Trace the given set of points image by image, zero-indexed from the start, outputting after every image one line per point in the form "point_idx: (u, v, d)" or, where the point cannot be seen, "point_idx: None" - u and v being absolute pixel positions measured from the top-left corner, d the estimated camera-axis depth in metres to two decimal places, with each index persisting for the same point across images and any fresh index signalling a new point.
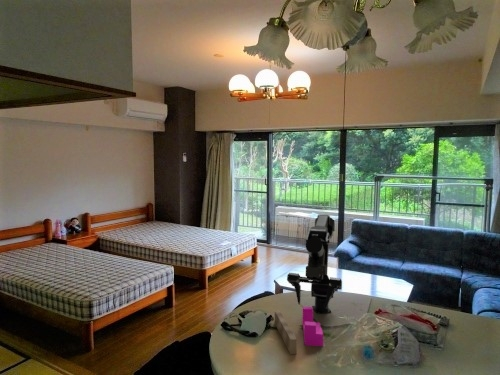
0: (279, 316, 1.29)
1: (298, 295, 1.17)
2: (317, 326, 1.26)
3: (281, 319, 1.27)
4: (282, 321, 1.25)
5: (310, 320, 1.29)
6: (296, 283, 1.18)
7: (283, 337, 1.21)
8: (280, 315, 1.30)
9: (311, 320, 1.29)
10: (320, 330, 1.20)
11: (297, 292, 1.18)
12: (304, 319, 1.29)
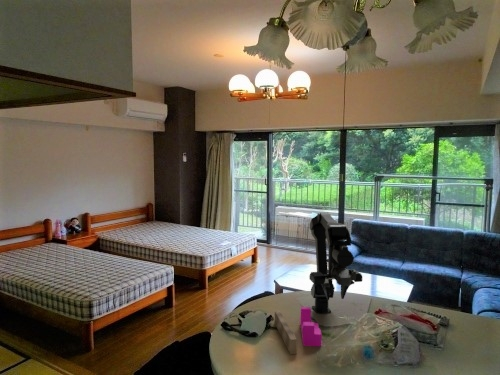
0: (279, 316, 1.29)
1: (328, 293, 1.24)
2: (315, 326, 1.26)
3: (281, 319, 1.27)
4: (282, 321, 1.25)
5: (308, 320, 1.28)
6: (328, 285, 1.22)
7: (283, 337, 1.21)
8: (280, 315, 1.30)
9: (309, 320, 1.28)
10: (318, 330, 1.20)
11: (327, 291, 1.24)
12: (302, 319, 1.29)
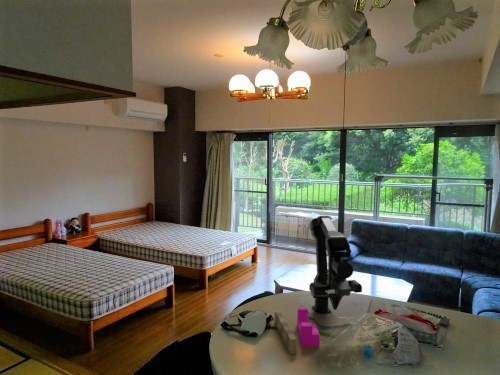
0: (279, 316, 1.29)
1: (334, 303, 1.25)
2: (312, 327, 1.26)
3: (281, 319, 1.27)
4: (282, 321, 1.25)
5: (305, 321, 1.28)
6: (334, 295, 1.23)
7: (283, 337, 1.21)
8: (280, 315, 1.30)
9: (306, 321, 1.28)
10: (316, 331, 1.20)
11: (334, 301, 1.25)
12: (299, 320, 1.28)
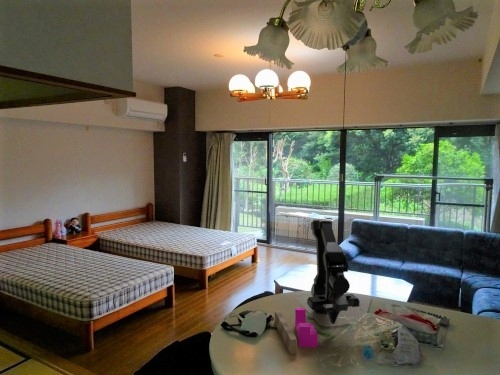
0: (279, 316, 1.29)
1: (332, 317, 1.25)
2: (310, 327, 1.25)
3: (281, 319, 1.27)
4: (282, 321, 1.25)
5: (303, 321, 1.28)
6: (332, 310, 1.23)
7: (283, 337, 1.21)
8: (280, 315, 1.30)
9: (304, 321, 1.28)
10: (314, 331, 1.19)
11: (331, 315, 1.25)
12: (297, 320, 1.28)
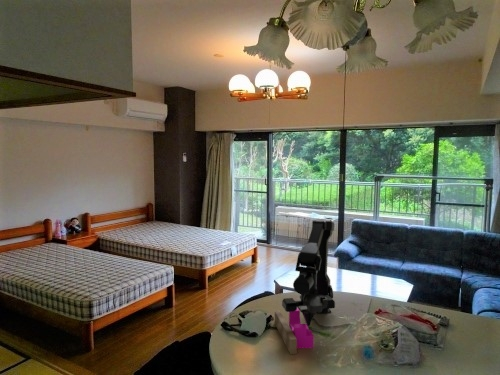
0: (279, 316, 1.29)
1: (307, 319, 1.23)
2: None
3: (281, 319, 1.27)
4: (282, 321, 1.25)
5: (297, 322, 1.27)
6: (307, 312, 1.21)
7: (283, 337, 1.21)
8: (280, 315, 1.30)
9: (298, 322, 1.27)
10: (309, 332, 1.19)
11: (306, 317, 1.23)
12: (291, 321, 1.27)
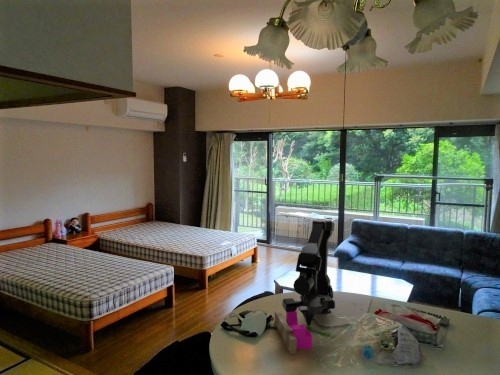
0: (279, 316, 1.29)
1: (307, 320, 1.24)
2: None
3: (281, 319, 1.27)
4: (282, 321, 1.25)
5: (295, 323, 1.27)
6: (307, 312, 1.22)
7: (283, 337, 1.21)
8: (280, 315, 1.30)
9: (296, 322, 1.27)
10: (308, 332, 1.18)
11: (306, 317, 1.23)
12: (289, 322, 1.27)
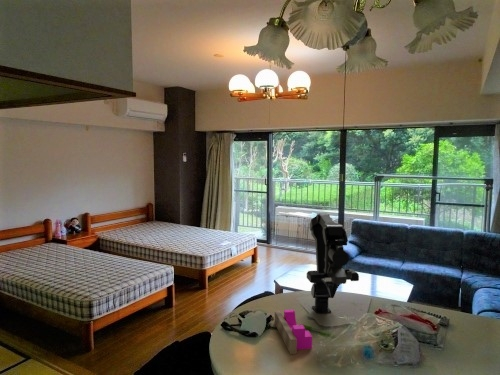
0: (279, 316, 1.29)
1: (331, 291, 1.27)
2: None
3: (281, 319, 1.27)
4: (282, 321, 1.25)
5: (293, 323, 1.26)
6: (331, 284, 1.24)
7: (283, 337, 1.21)
8: (280, 315, 1.30)
9: (294, 323, 1.26)
10: (307, 332, 1.18)
11: (330, 289, 1.26)
12: (287, 323, 1.26)
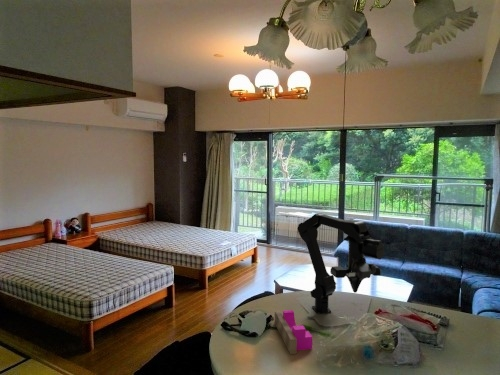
0: (279, 316, 1.29)
1: (355, 286, 1.31)
2: None
3: (281, 319, 1.27)
4: (282, 321, 1.25)
5: (292, 324, 1.26)
6: (355, 278, 1.29)
7: (283, 337, 1.21)
8: (280, 315, 1.30)
9: (293, 323, 1.26)
10: (308, 333, 1.18)
11: (354, 284, 1.31)
12: None
